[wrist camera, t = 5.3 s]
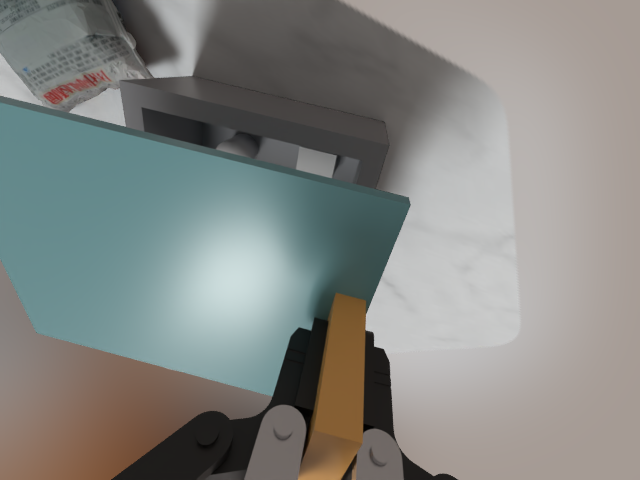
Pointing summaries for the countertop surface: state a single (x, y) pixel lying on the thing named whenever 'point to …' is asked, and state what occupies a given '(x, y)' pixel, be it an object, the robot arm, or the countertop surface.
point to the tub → (258, 126)
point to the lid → (194, 259)
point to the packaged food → (68, 49)
